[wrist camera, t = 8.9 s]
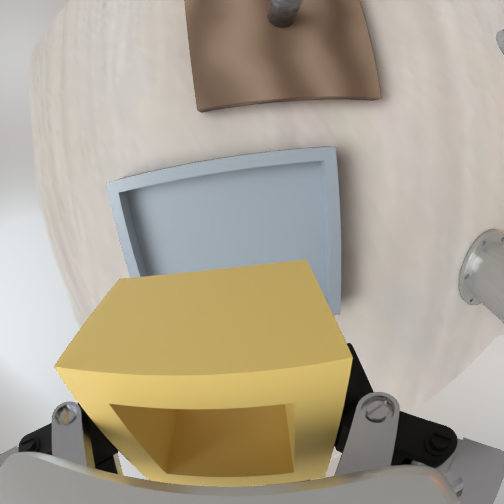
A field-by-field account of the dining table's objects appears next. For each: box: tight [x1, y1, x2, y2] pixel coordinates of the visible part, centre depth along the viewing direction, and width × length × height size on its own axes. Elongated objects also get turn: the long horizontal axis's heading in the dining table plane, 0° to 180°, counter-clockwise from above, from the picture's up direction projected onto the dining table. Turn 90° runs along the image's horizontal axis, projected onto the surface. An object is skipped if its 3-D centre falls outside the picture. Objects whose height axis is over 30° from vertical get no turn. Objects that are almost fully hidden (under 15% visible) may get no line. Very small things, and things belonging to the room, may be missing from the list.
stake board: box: [184, 0, 381, 112], centre depth 20 cm, size 18×18×2 cm
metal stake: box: [267, 0, 303, 28], centre depth 16 cm, size 3×3×6 cm
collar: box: [54, 259, 353, 486], centre depth 9 cm, size 7×7×5 cm
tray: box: [106, 147, 341, 315], centre depth 28 cm, size 22×18×3 cm
